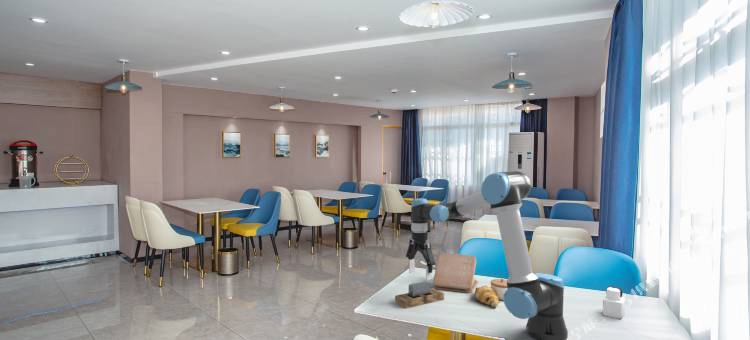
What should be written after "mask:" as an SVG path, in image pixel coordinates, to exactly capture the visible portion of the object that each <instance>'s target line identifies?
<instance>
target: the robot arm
mask: <svg viewBox="0 0 750 340" xmlns="http://www.w3.org/2000/svg"><path fill="white" fill-rule="evenodd" d="M531 191H532V181H531V179H530V177H529V176H527V175H526V173H524V172H521V171H519V170H518V171H516V170H515V171H499V172H494V173H491V174H488V175H487V176H486V177H485V178H484V180H483V181H482V184H481V189H480V191H478V192H476V193H473V194H470V195H468V196H465V197H462V198H460V199H457V200H454V201H452V202H443V203H437V204H433V203H428V199H427V198H419V197H418V198H413V199H412V200H411V206H410V210H411V212H410V213H411V214H410V215H411V216H410V217H411V239H409V244H408V247H407V250H406V254H405V257H406V258H407V259H408V270H409V274H415V272H416V267H415V266H416V261H415V257H416V255H417V253H418V252H419V253H420V254H422V256H423V258H424V261H425V263H426V265H425V280H426V281H430V280H433V266H435V265H436V261H435V257H434V253H433V251H432V245H431V243H427V240H428V239H429V237H428V234H429V232H428V230H429V229H428V221H430V222H436V223H444V222H446V221H447V220H451V219H460V218H463V217H465V216H466V215H469V214H471V213H474V212H477V211H480V210H484V209H487V208H489V207H490V209H491V210H492V212H493V213H495V214H496V218H497V223H498V229H499V233H500V237H501V242H502V248H503V252H504V257H505V261H506V266H507V270H508V275H509V276H508V277H507V279H506V280H507V281H506V282H507V287H508V289H507V290H506V292H505V294H504V300H503V303H504V305H505V308H506V310H507V311H508V312H509V313H510V314H512V316H514V317H515V318H517V319H520V320H526V319H527V322H526V323H525V325H526V327H525V333H526V334H527V335H528V336H530V337H531V338H533V339H535V340H567V339H568V338H569V337H568V336H569V335H568V333H569V332H568V328H567V325H566V322H565V318H564V294H565V293H564V289H565V287H564V279H562V278H561V277H559V276H556V275H553V274H549V273H539V272H538V273H537V272H536V273H534V272H533V266H532V262H531V257H530V253H529V248H528V244H527V239H526V234H525V230H524V229H525V228H524V226H523V225H524V224H523V220H522V216H521V212H520V208H521V207H522V205H523V201H522V200H524V199H526V198H527V197H528V196H529V195H530V193H531Z"/></svg>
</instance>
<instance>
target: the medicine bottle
mask: <svg viewBox="0 0 750 340" xmlns="http://www.w3.org/2000/svg"><path fill="white" fill-rule="evenodd" d="M605 291H606V293H605V294H606V295H605V296H604V297H603V299H602V301H603V302H602V304H603V305H602V315H603V316H606V317H610V318H614V319H618V320H621V319H623V317H624V316H625V310H626V307H625V306H626V298H624V297H623V289H622V288H620V287H618V286H615V285H614V286H613V285H611V286H610V285H609V286H607V287H606V290H605Z"/></svg>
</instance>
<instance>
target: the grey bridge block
mask: <svg viewBox="0 0 750 340" xmlns="http://www.w3.org/2000/svg"><path fill="white" fill-rule="evenodd" d="M430 288H431V283H430V282H429V281H427V280H426V281H425V280H424V281H420V282H419V281H418V282H415V283H411V284H408V293H409V295H410V297H411V298H417V296H421V295H425V296H427V295H429V294H430Z"/></svg>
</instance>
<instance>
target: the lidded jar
mask: <svg viewBox="0 0 750 340" xmlns="http://www.w3.org/2000/svg"><path fill="white" fill-rule="evenodd" d="M506 281H507V279H504V278H495V279H491V280H490V287H491V288H492V289H494V290H495V292H496V294H497V296H498V299H499V300H500V301H504V294H505V292H506V290H507V289H508V287H507V282H506Z"/></svg>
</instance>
